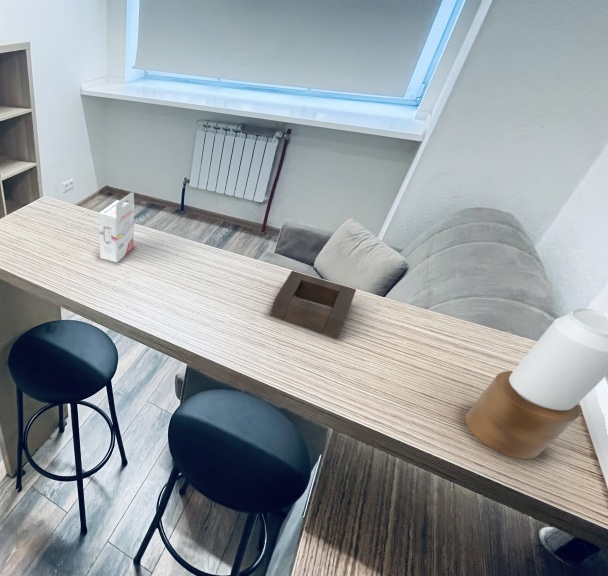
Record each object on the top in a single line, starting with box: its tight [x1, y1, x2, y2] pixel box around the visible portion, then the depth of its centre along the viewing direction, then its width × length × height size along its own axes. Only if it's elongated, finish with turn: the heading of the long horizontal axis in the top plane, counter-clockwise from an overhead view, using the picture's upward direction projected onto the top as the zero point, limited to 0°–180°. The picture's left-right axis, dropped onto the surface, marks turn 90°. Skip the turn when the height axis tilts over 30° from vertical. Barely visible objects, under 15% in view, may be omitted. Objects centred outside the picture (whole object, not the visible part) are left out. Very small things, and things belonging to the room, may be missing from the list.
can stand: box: [269, 270, 357, 339], centre depth 78 cm, size 12×12×4 cm
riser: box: [464, 370, 581, 460], centre depth 54 cm, size 8×8×8 cm
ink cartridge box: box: [98, 191, 135, 263], centre depth 94 cm, size 9×5×15 cm, turn 149°
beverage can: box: [509, 308, 608, 410], centre depth 48 cm, size 6×6×12 cm
